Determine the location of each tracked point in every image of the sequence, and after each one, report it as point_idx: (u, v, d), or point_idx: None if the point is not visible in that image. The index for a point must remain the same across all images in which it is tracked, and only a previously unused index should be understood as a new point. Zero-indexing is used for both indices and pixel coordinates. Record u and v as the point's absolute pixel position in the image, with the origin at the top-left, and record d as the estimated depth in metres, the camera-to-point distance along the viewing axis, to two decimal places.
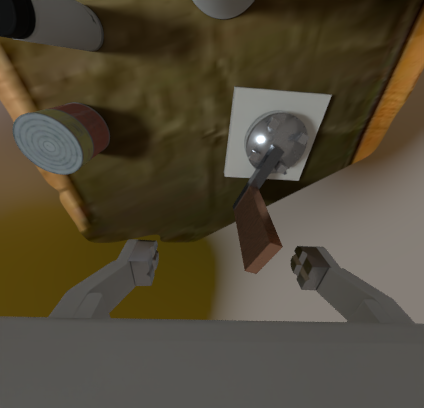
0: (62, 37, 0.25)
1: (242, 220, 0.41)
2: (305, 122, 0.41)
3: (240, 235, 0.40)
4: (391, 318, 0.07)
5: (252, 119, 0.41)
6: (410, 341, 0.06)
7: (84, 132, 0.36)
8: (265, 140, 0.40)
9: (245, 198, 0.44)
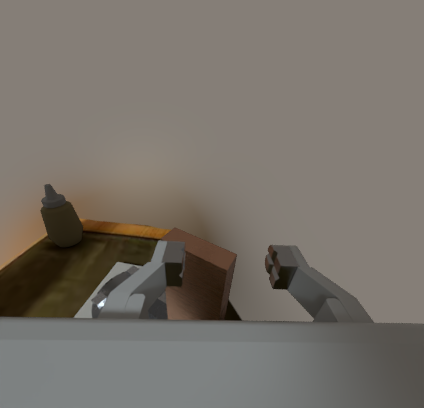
0: None
1: None
2: None
3: (213, 316, 0.22)
4: (350, 317, 0.07)
5: None
6: (410, 341, 0.06)
7: None
8: None
9: None
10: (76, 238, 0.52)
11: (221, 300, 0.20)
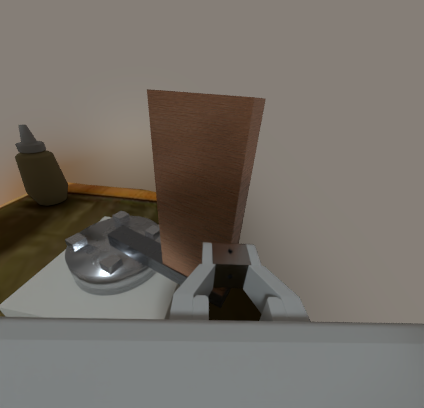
0: None
1: (205, 239, 0.17)
2: None
3: (226, 217, 0.15)
4: (287, 316, 0.07)
5: (71, 283, 0.26)
6: (410, 341, 0.06)
7: None
8: (98, 252, 0.26)
9: (180, 263, 0.20)
10: (59, 195, 0.45)
11: (240, 177, 0.13)
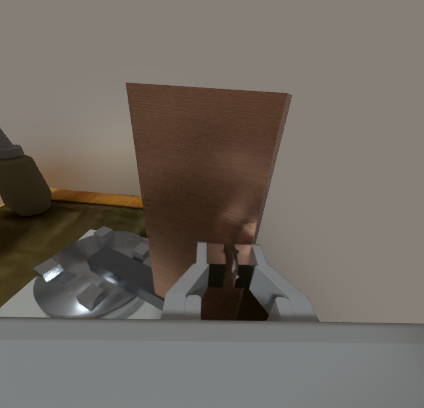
0: None
1: None
2: None
3: None
4: (296, 316, 0.07)
5: None
6: (410, 341, 0.06)
7: None
8: (76, 281, 0.21)
9: None
10: (40, 204, 0.41)
11: (259, 202, 0.09)
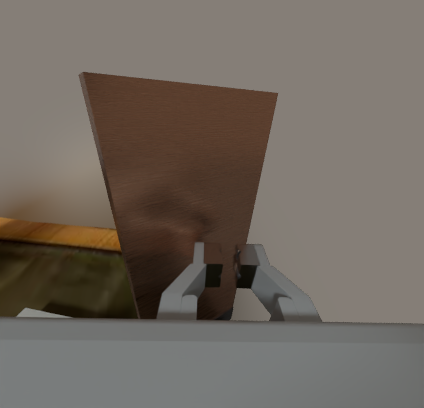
0: None
1: None
2: None
3: (241, 231, 0.13)
4: (299, 316, 0.07)
5: None
6: (410, 341, 0.06)
7: None
8: None
9: None
10: None
11: (257, 182, 0.11)
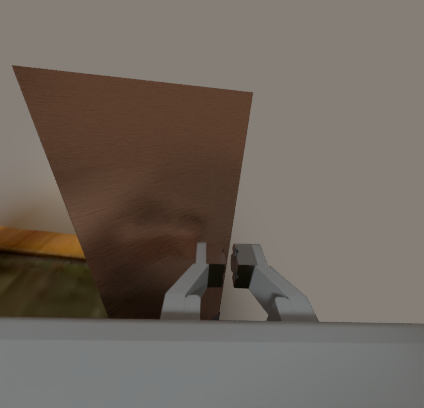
0: None
1: None
2: None
3: (223, 237, 0.12)
4: (295, 316, 0.07)
5: None
6: (410, 341, 0.06)
7: None
8: None
9: None
10: None
11: (237, 186, 0.11)
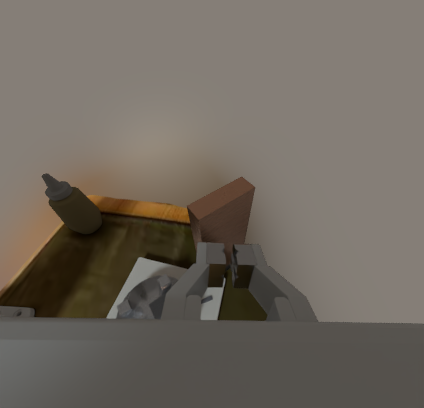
0: None
1: None
2: None
3: (243, 228, 0.28)
4: (295, 316, 0.07)
5: None
6: (410, 341, 0.06)
7: None
8: None
9: None
10: (95, 225, 0.48)
11: (249, 212, 0.26)
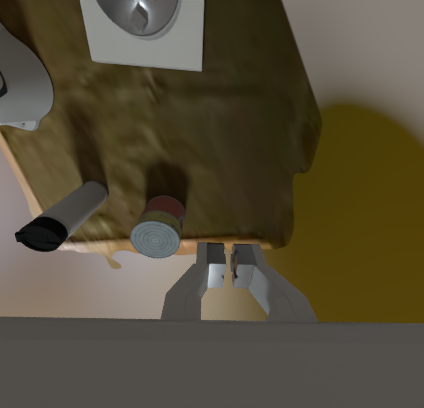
0: (75, 206, 0.38)
1: None
2: None
3: None
4: (295, 316, 0.07)
5: (119, 30, 0.32)
6: (410, 341, 0.06)
7: (148, 214, 0.43)
8: None
9: None
10: None
11: None
